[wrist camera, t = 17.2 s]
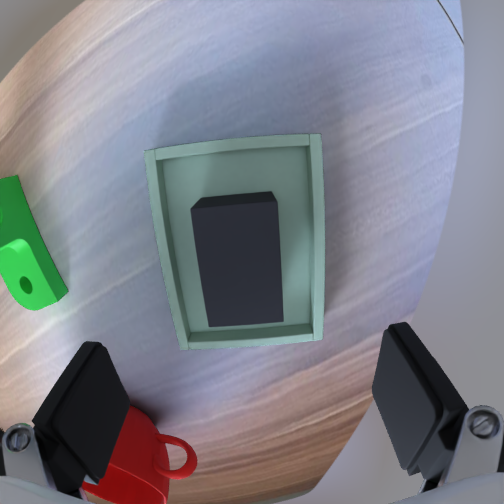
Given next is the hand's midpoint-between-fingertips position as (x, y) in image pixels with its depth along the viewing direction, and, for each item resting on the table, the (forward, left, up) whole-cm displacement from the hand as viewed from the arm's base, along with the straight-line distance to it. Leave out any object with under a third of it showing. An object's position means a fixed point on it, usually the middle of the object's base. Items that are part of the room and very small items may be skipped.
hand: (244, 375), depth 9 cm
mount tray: (0, 0, -14) cm, 14 cm away
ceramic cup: (+14, +20, -14) cm, 29 cm away
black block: (0, 0, -14) cm, 14 cm away
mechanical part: (+21, -2, -14) cm, 26 cm away
